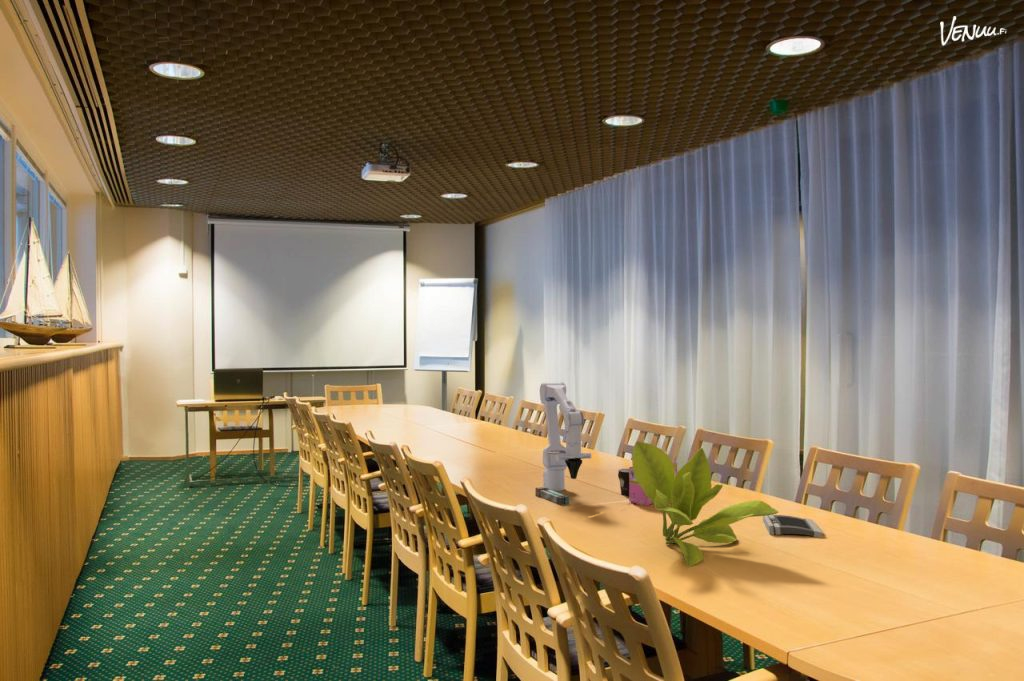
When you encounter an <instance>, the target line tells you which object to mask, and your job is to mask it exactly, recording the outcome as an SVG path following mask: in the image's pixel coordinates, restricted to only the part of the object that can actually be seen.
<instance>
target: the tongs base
mask: <svg viewBox="0 0 1024 681" xmlns="http://www.w3.org/2000/svg"><path fill="white" fill-rule="evenodd" d="M534 489H535V496H536V497H540V498H542V499H544V500H548V501H550V502H552V503H555V504H557V505H560V506H564V505H565V504H564V497H561V496H558V495H555V494H553V493H550V492H548V491H547V490H549V488H548V487H543V486H538V487H535V488H534Z"/></svg>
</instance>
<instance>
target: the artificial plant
mask: <svg viewBox="0 0 1024 681" xmlns="http://www.w3.org/2000/svg"><path fill="white" fill-rule="evenodd" d="M631 461H632V462H631V463H632V466H631V467H633V471H634V475H635V477H636V479H637V481H638V483H639V484H640V486H641V488H642V489H643V491H644V492H645V494H646V495H647V496H648V497H649V498H650V499H651V500H652V501H653V503H654V508H655V510H657V511H662V520H663V523H662V536H663V537H665V538H664V539H665V545H670V544H672V543H673V544H674V543H676V544H677V545H678V546H679V548H680V549H681V551H682V554H683V557H684V561H685V563H686V566H687V567H688V566H690V567H693V566H694V565H696V564H698V563H700V562H701V561H702V560H704V556H703V551H701V549H700V548H699V547H698V546H697V545H695V544H693V543H691V542H687V541H684V540H686V539H688V538H692V537H694V538H697V539H700V540H703V541H705V542H707V543H713V544H716V543H717V544H726V543H727V544H729V543H733V542H735V541H738V538H737V536H736V534H735V532H734V529H733V528H732V526H731V525H732V524H735V523H737V522H739V521H742V520H744V519H747V518H751V517H752V518H754V517H763V516H766V515H778V513H779V510H777V509H775V508H773V507H772V506H771V505H770V504H768V503H766V502H764V501H763V500H749V501H748V500H747V501H745V502H744V501H743V502H740V503H735V504H732V505H729V506H726V507H724V508H722V509H721V510H719V511H718V512H717V513H714V514H712V515H711V516H710V517H708V518H706V519H703V520H702V521H700V522H699V523H698V524H697V525H693V524H694V522H693V521H695V520H696V519H697V517H698V516H699V514H700V512H701V510H702V509H703V507H704V506H705V505H706V504H707V503H708V502H710V501H711V500H713V499H714V498H715V497H716V496H718V494H719V493H720V491H721V490H722V489H723V486H724V484H716V485H714V486H713V487H712V471H711V468H710V463H709V460H708V457H707V454H706V452H705V451H704V448H702V447H701V448H700V449H698V450H697V452H695V454H693V456H692V457H691V458H690V460H688V461H687V462H685V464H683V465H682V466H681V467H680V468H679V470H677V474H676V476H675V477H674V473H675V471H674V467H673V463H674V462H672V460H671V458H670V457H669V455H667V453H666V452H665V451H664V450H663V449H661V448H659V447H657V446H656V445H654V444H651V443H648V442H643V441H639V440H638V441H635V444H634V446H633V449H632V457H631ZM666 514H667V515H668V518H669V519H670V521H671V523H670V524H669V526H667V525H668V524H667V522H668V520H667V515H666ZM691 525H693V526H692V527H690V528H687V529H685V530H683V531H681V532H679V530H680V528H681V527H682V526H683V527H684V526H691ZM675 526H676V527H675ZM690 532H692V534H691V533H690ZM688 533H690V534H689V535H686V534H688ZM684 535H686V536H684Z"/></svg>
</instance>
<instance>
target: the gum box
mask: <svg viewBox="0 0 1024 681" xmlns="http://www.w3.org/2000/svg"><path fill="white" fill-rule="evenodd" d="M672 463H673V467H674V471H675V473H674V477H675V476H676V474H677V472H678V462H677V461H675V462H672ZM628 498H629V499H628V500H629V502H631V503H630V504H633V503H636V504H635V505H638V504H642V505H641V506H644V505H646V506H649V505H648V504H650V505H653V504H652V503H653V501H652V500H651V499H650V498H649V497H648V496H647V495H646V494H645V492H644V491H643V489H642V488H641V486H640V484H639V483H638V481H637V479H636V477H635V475H634V471H633V466H630V467H629V496H628Z"/></svg>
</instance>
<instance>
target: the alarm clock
mask: <svg viewBox="0 0 1024 681" xmlns="http://www.w3.org/2000/svg"><path fill="white" fill-rule="evenodd" d="M762 522H764V523H763V524H765V525H764V527H765V528H766V530H767V533H768V534H769V536H775V535H786V534H787V535H789V534H792V535H793V534H794V535H806V536H810V537H814V538H823V536H824V532H823V530H822V529H821V528H820V526H819V525H818V524H817V523H816V522H815V520H813V519H812V518H811V519H810V518H806V517H804V518H802V517H797V516H794V515H784V514H773V515H766V516H762Z"/></svg>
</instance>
